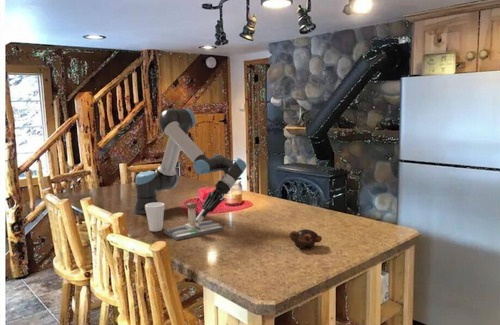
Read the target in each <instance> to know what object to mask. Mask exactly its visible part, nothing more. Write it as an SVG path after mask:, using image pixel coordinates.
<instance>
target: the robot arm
mask: <svg viewBox="0 0 500 325" xmlns="http://www.w3.org/2000/svg"><path fill="white" fill-rule="evenodd" d="M196 122H197V121H196V116H195V113H194V112H193V111H192V110H191V109H189V108H169V109H165V110H164V111H162V112H161V113H160V115H159V117H158V125H159V128H160V130H161V131H162V133H164V135H165V136H168V139H167V143H166V146H165V150H164V153H163V158H162V161H161V165H159V166H158V167H157V168H156V171H153V170H147V171H141V172H139V173H138V174H136V176H135V190H136V191H135V193H136V194H135V195H136V200H135V205H134V207H133V210H134V212H133V213H135V214H137V215H138V214H139V215H147V214H146V210H145V205H146V204H149V203H156V202H157V203H160V202H159V200H158V197H157V193H158V192H163V191H167V190H172V189H174V188H175V187H176V186H177V185H178V181H179V177H178V176H179V175H178V172H177V170H176V166H177V163H178V160H179V157H180V153H181V151H182V152H183V154H185V156H186V157H187V158H188V159H189V160H190V161H191V163H193V169H194V173H196V174H197V175H207V174H211V173H216V172H223V174H222V176H221V177H220V179H219V180H218V181H217V182H216V184H215V189H214V190H213V191H212V192H211V191H209V192H208V194H207V197H206V198H205V200H204V201H203V203H202V205H201V208H202V210H201V211H200V212H199V214H198V215H196V222H197V223H201V222H203V220H204V219H205V217H207V215H208V214H210V213H212V212H214V210H215V209H216V208H217V207H218V206H219V205H220V204H221V203H222V202H223V201H225V199H226V198H225V197H224V196H225V195H227V194H228V193H229V192H230V191H231V189H232V188H233V186H235V184H236V183H237V181H238V180H239V179H240V177H241V175H243V173H244V172H245V170H246V168H247V163H246V162H245V160H243V159H242V158H239V157H235V159H233V160H232V159H231V158H228V157H226V156H224V155H222V154H218V153H216V154H214V155H213V156H212V157H210V158H209V157H208V156H207V155H206V154H205V153H204V152H203V151H202V150H201V148H199V147H198V145H197V144H196V143H195V142H194V141H193V140H192V138H191V137H190V136H188V134H189V131H190V129H192V128H194V127H195V125H196Z"/></svg>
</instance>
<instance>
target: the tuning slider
mask: <svg viewBox="0 0 500 325" xmlns="http://www.w3.org/2000/svg"><path fill="white" fill-rule="evenodd" d="M185 207H186V209H187V215H188V216H187V217H188V218H187V219H188V223H185V224H184V226H185V228H187V229H188V230H189V229H194V228H197V229H199V230H200V228H199V227H200V225H199V224H197V223H198V222H197V220H196V218H197V215H196V208H197V207H198V203H197V202H187V203H186V205H185Z"/></svg>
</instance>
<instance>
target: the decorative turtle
mask: <svg viewBox="0 0 500 325" xmlns="http://www.w3.org/2000/svg"><path fill="white" fill-rule="evenodd" d="M289 238H290V240H291V241H292V242H293V243H294V245H295V246H296V247H299V249H300V250H304V249H305V248H306V247H308V248H309V249H313V248H314V246H315V244H316V243H320V242H322V240H323V237H322V236H321V235H319V234H318V233H317V232H316V231H313V230H312V229H309V228H308V229H300V230H299V231H296V230H292V231H291V232H290V233H289ZM312 247H313V248H312Z"/></svg>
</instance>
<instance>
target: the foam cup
mask: <svg viewBox="0 0 500 325" xmlns="http://www.w3.org/2000/svg"><path fill="white" fill-rule="evenodd" d="M145 210H146V214H145V215H146V218H147V224H148V229H149V231H150V232H160V231H162V230H163V227H164V226H163V224H164V214H165V203H163V202H159V203H157V202H156V203H149V204H146V205H145Z"/></svg>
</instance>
